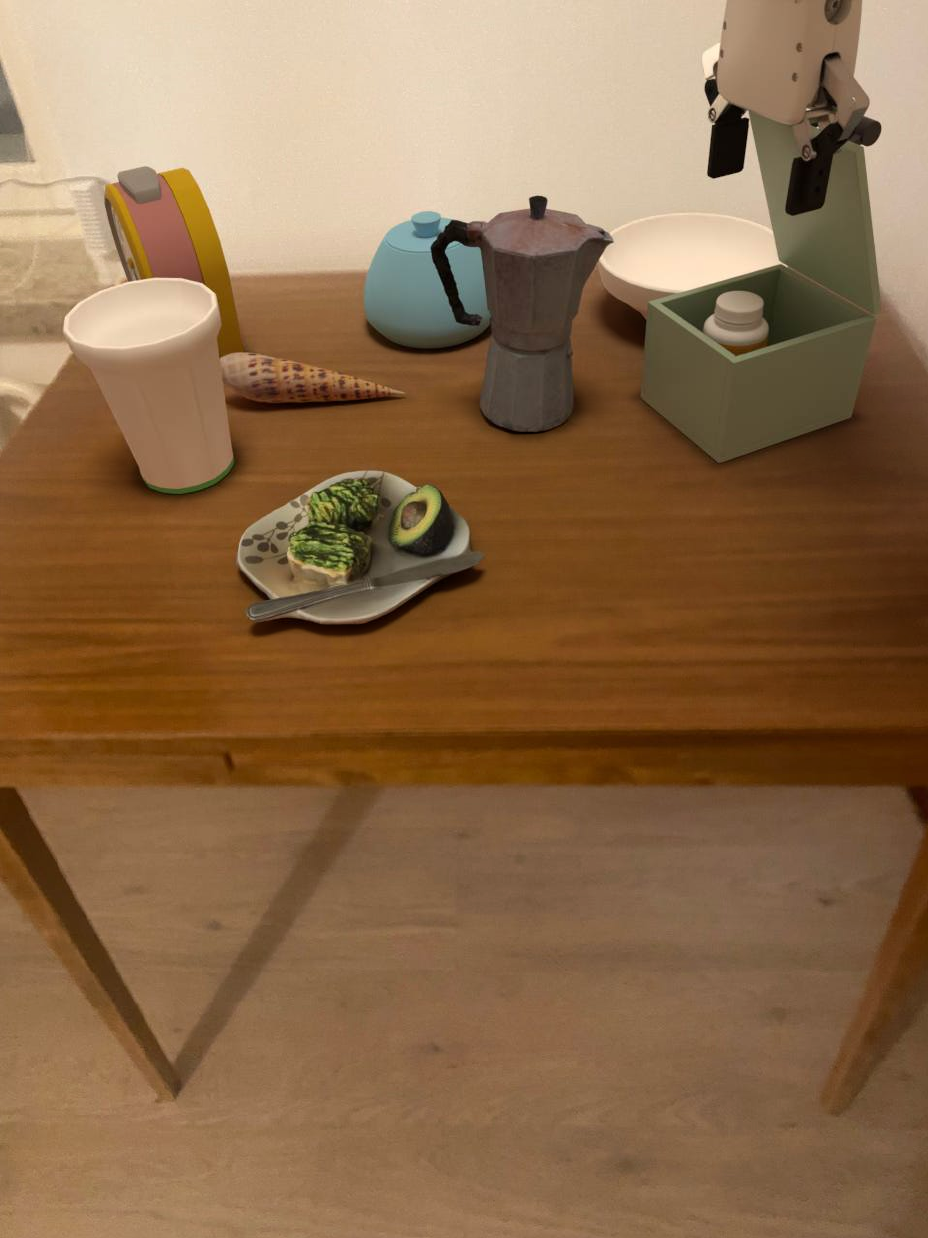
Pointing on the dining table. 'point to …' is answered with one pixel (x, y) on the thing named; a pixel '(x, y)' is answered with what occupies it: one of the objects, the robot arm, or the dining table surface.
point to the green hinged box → (755, 364)
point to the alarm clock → (171, 238)
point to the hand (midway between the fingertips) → (762, 191)
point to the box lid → (824, 213)
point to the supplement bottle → (738, 323)
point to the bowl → (682, 255)
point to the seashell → (293, 381)
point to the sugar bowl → (423, 287)
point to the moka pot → (526, 307)
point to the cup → (159, 376)
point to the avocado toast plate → (353, 549)
